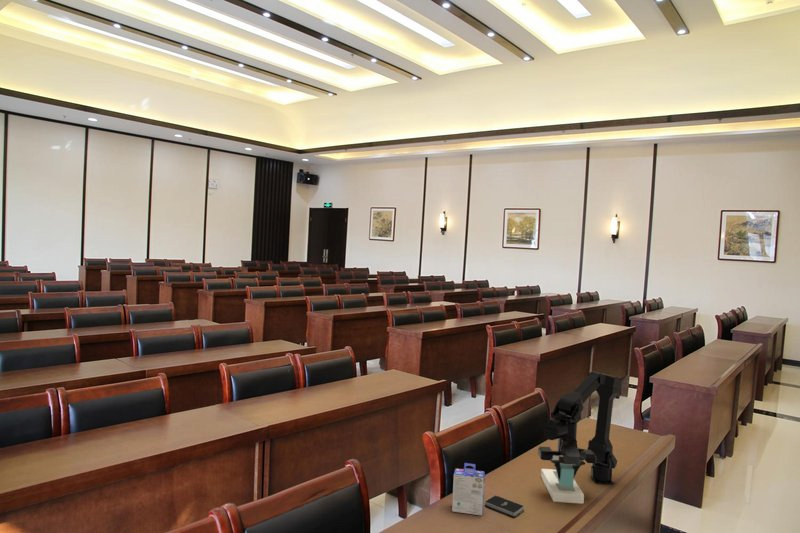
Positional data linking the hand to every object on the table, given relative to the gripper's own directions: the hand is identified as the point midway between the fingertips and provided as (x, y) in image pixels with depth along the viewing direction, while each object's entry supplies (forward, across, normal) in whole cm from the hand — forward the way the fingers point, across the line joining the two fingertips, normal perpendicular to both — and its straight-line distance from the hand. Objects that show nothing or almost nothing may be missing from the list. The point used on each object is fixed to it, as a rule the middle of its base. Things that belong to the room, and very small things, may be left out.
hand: (565, 479), depth 177 cm
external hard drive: (+6, -23, -13) cm, 27 cm away
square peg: (+2, 0, 0) cm, 2 cm away
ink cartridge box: (+6, -35, -16) cm, 38 cm away
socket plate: (+6, 0, +5) cm, 8 cm away
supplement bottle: (+6, +8, +32) cm, 34 cm away
